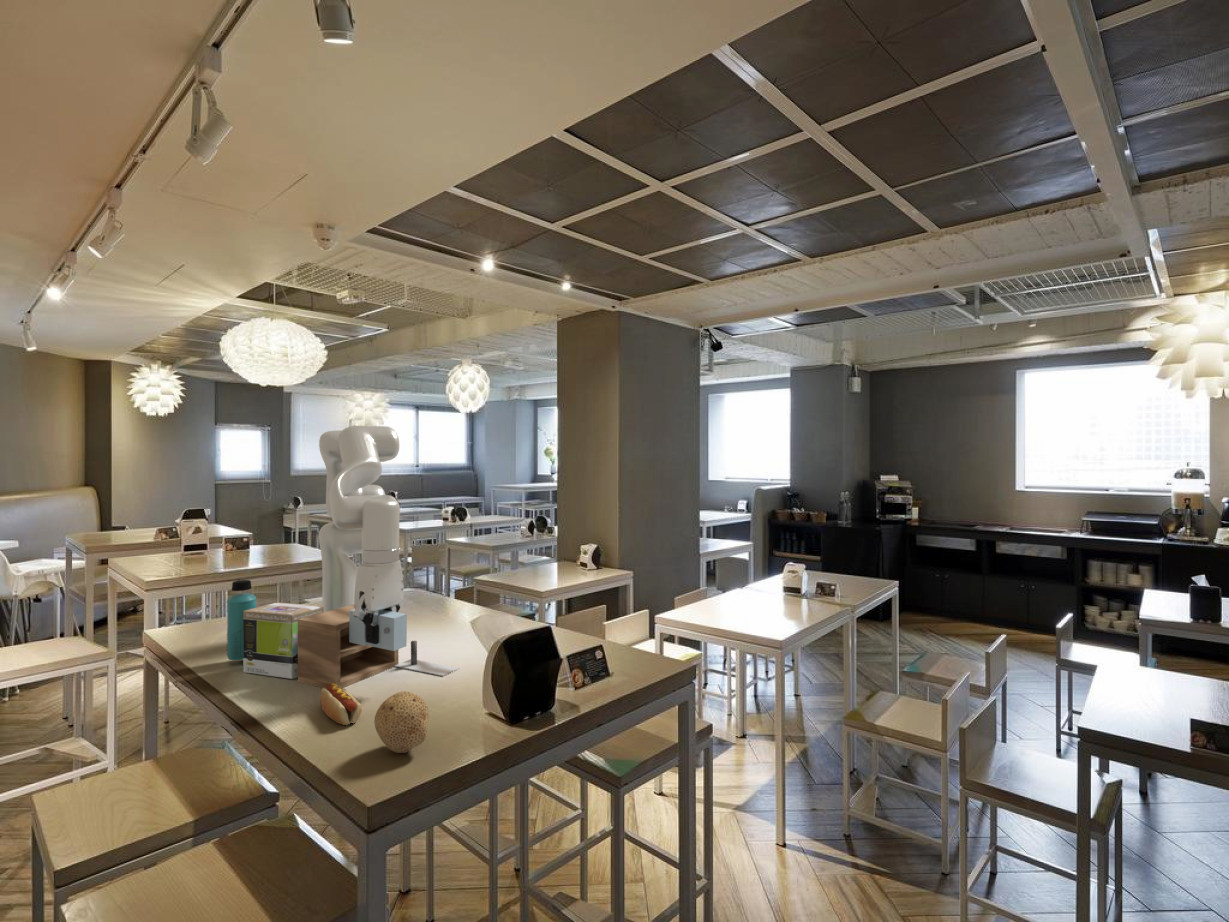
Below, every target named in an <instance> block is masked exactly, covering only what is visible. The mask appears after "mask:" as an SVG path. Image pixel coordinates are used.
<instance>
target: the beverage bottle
mask: <svg viewBox="0 0 1229 922" xmlns="http://www.w3.org/2000/svg"><path fill="white" fill-rule="evenodd" d="M251 589H252V582H251V580H249V579H239V580H234V581H232V584H231V591H232V592H242V591H249V590H251ZM226 603H227V605H226V607H227V609H226V611H227V614H226V616H227V617H226V618H227V621H226V622H227V624H226V625H227V628H226V631H227V632H226V656H227V658H228V660H230V661H243V611H245V610H249V609H253V608H257V596H255V595H254V594H253V593H251V592H243V593H235V594H232V595H231V596H230V597H228V599H227V600H226Z"/></svg>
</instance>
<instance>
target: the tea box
mask: <svg viewBox="0 0 1229 922" xmlns="http://www.w3.org/2000/svg"><path fill="white" fill-rule="evenodd" d="M323 612H324V606H323V605H314V604H313V605H312V604H303V603H301V604H300V603H291V602H290V603H289V602H274V603H270V604H265V605H261V606H258V607H257V606H256V608H253V609H249V610H245V611H243V660H242V662H243V664H242V665H243V673H247V674H254V675H261V676H268V677H276V678H284V679H290V680H293V679H296V678H298V619H301V618H304V617H308V616H312V615H316V614H320V613H323Z"/></svg>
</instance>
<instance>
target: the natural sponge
mask: <svg viewBox="0 0 1229 922" xmlns="http://www.w3.org/2000/svg"><path fill="white" fill-rule="evenodd" d="M429 721H430V710H429V707H428V705H427V703H426V701H425V699H423V698H422V697H421V696H419V695H418V694H415V693H414V692H411V691H406V690H405V691H400V692H395V693H394V694H392V695H390V696H389V697H387V698H386V699H385V700H384V701H383V702H382V703H381V704H380V705H379V707H378V709H377V711H376V713H375V716H374V728H375V730H376V733H377V734H378V737H379V739H380V741H382V743H383V744H384V745H385V746H386V748H388V749H389V750H390V751H392V752H394V753H397V754H405V753H407V752H409V751H411V750H412V749H414V748H416V747H419V745H422V743H424V742H425V741H426V738H427V735H428V729H429Z"/></svg>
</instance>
